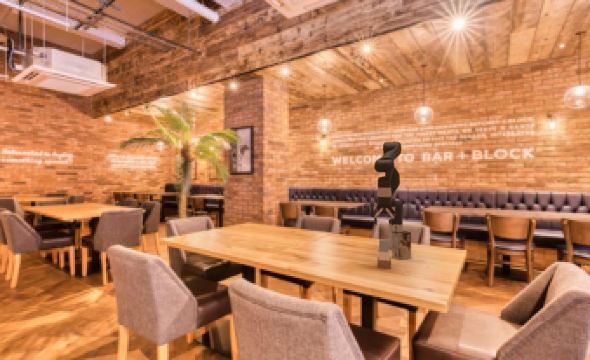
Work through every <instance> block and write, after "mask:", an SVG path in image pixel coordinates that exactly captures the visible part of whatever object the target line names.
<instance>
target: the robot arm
mask: <svg viewBox="0 0 590 360" xmlns="http://www.w3.org/2000/svg"><path fill="white" fill-rule="evenodd" d="M382 153H383V154H382V156H381V157H379V158H377V159H376V160H375V162H374V165H373V169H374V171H375V172H377V173H384V175H385V176H384V175H383V176H379V177H378V178H377V191H376V202H377V203H376V205H375V206H374V205H371V209H370V217H371V218H373V223H374V224H375V226H377V225H378V218H377V217H378V216H379V215H389V216H390V217H391V218H389V219H388V239H389V250H392V232H393V231H404V230H403V229H404V227H403V226H404V224H403V221H404V219H403V215H404V201H402V200H392V199H393V196H394V194H395V192H396V191H397V189H398V188H399V187H400V185H401V177H400V176H401V175H400V173H399V171H398V169H397V168H396V167H395V160H396V159H398V157H399V156H401V154H402V144H401V142H399V141H387V142H386V141H385V142H383V145H382ZM375 210H377V212H376V213H375V214H374V211H375Z"/></svg>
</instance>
